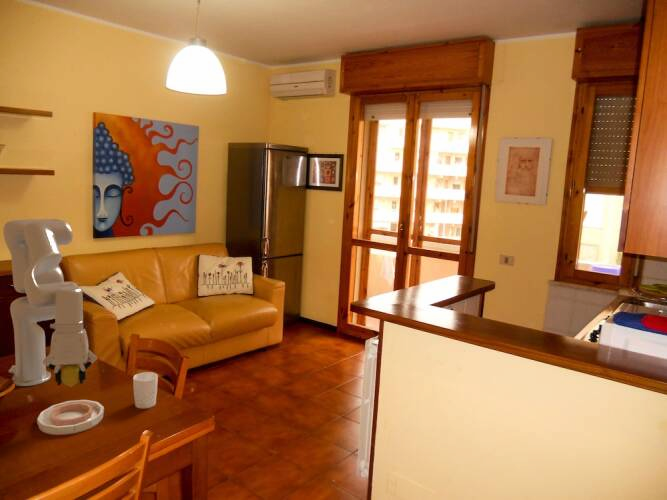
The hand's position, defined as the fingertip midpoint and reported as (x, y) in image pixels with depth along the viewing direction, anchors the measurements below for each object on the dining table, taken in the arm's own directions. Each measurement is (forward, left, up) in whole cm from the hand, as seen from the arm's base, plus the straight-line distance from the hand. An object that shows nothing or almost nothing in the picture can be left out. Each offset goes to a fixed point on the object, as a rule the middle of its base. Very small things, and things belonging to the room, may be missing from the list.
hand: (70, 382), depth 154 cm
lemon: (0, 0, -2) cm, 2 cm away
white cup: (+15, +17, -13) cm, 26 cm away
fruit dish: (0, 0, -13) cm, 13 cm away
